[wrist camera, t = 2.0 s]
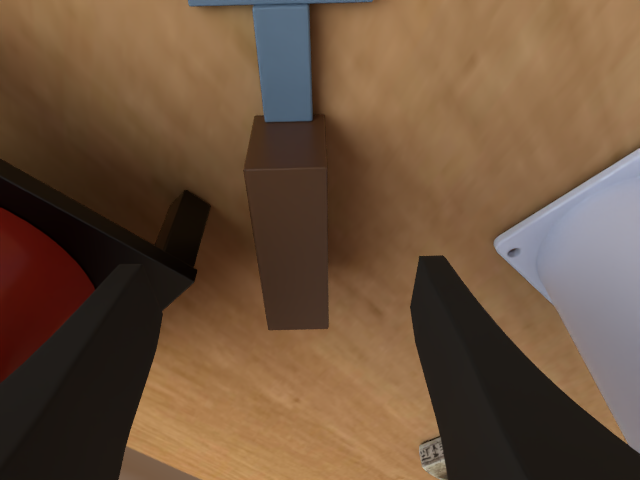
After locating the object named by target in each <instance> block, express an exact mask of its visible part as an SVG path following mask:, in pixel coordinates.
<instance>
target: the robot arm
mask: <svg viewBox="0 0 640 480" xmlns="http://www.w3.org/2000/svg"><path fill="white" fill-rule="evenodd" d="M494 247H495V249H496V251H497V253H498V254H499V255H501V256H502V257H503V258H504V259H505V260H506V261H507V262H508V263H509V264H510V265H511V266H512V267H513V268H514V269H515V270H517V271H518V272H519V273H520V274H521V275H522V276H523V277H524V278H525V279H526V280H527V281H528V282H529V283H530V284H531V285H533V286H534V287H535V288H536V289H537V290H538V291H539V292H540V293H541V294H542V295H543V296H544V297H545V298H546V299H547V300H549V301H550V302H551V303H552V304H553V305H554V306H555V308H556V310H557V312H558V313H559V315H560V317H561V319H562V321H563V323H564V325H565V327H566V328H567V330H568V332H569V334H570V336H571V338H572V340H573V342H574V343H575V345H576V347H577V349H578V351H579V353H580V355H581V357H582V358H583V360H584V362H585V364H586V366H587V368H588V370H589V372H590V373H591V375H592V377H593V379H594V381H595V383H596V385H597V387H598V388H599V390H600V392H601V394H602V396H603V398H604V400H605V402H606V403H607V405H608V407H609V409H610V411H611V413H612V415H613V417H614V418H615V420H616V422H617V424H618V426H619V428H620V430H621V432H622V433H623V435H624V437H625V439H626V441H627V443H628V444H626V443H625V442H623V441H622V440H621V439H619V438H618V437H617V436H616V435H614V434H613V433H612V432H611V431H609V430H608V429H607V428H606V427H605V426H603V425H602V424H601V423H600V422H598V421H597V420H596V419H595V418H593V417H592V416H591V415H590V414H589V413H587V412H586V411H585V410H584V409H582V408H581V407H580V406H579V405H578V404H576V403H575V402H574V401H573V400H572V399H571V398H570V397H568V396H567V395H566V394H565V393H564V392H563V391H562V390H561V389H560V388H558V387H557V386H556V385H555V384H554V383H553V382H552V381H551V380H550V379H549V378H548V377H547V376H546V375H545V374H544V373H542V372H541V371H540V370H539V369H538V368H537V367H536V366H535V365H534V364H533V363H532V362H531V361H530V360H529V359H528V358H527V357H526V356H525V355H524V353H523V352H522V351H521V350H520V349H519V348H518V347H517V346H516V345H515V344H514V343H513V342H512V341H511V340H510V338H509V337H508V336H507V335H506V334H505V333H504V332H503V331H502V329H501V328H500V327H499V326H498V325H497V324H496V322H495V321H494V320H493V319H492V318H491V316H490V315H489V314H488V313H487V312H486V310H485V309H484V308H483V307H482V306H481V304H480V303H479V302H478V301H477V299H476V298H475V297H474V296H473V294H472V293H471V292H470V290H469V289H468V288H467V286H466V285H465V284H464V282H463V281H462V280H461V278H460V277H459V276H458V274H457V273H456V272H455V270H454V269H453V267H452V266H451V265H450V263H449V262H448V260H447V259H446V258H445V257H444V256H443V255H442V256H419V262H418V267H417V273H416V278H415V284H414V289H413V295H412V300H411V306H410V309H411V316H412V323H413V330H414V336H415V343H416V346H417V350H418V354H419V358H420V361H421V365H422V369H423V373H424V376H425V380H426V383H427V387H428V391H429V394H430V398H431V402H432V405H433V409H434V413H435V416H436V420H437V424H438V428H439V433H440V437H441V442H442V448H443V454H444V460H445V465H446V471H447V477H448V480H640V148H639V149H637V150H635V151H634V152H632V153H631V154H629V155H627V156H626V157H624V158H623V159H621V160H619V161H618V162H616V163H615V164H613V165H611V166H610V167H608V168H607V169H605V170H603V171H602V172H600V173H599V174H597V175H595V176H594V177H592V178H591V179H589V180H587V181H586V182H584V183H583V184H581V185H579V186H578V187H576V188H574V189H573V190H571V191H570V192H568V193H566V194H565V195H563V196H562V197H560V198H558V199H557V200H555V201H554V202H552V203H550V204H549V205H547V206H546V207H544V208H542V209H541V210H539V211H538V212H536V213H534V214H533V215H531V216H530V217H528V218H526V219H525V220H523V221H522V222H520V223H518V224H517V225H515V226H514V227H512V228H510V229H509V230H507V231H505V232H504V233H502V234H501V235H499V236H498V237H497V238H496V239H495V240H494ZM514 248H516V249H515V250H512V249H514ZM510 250H512V251H510ZM162 316H163V313H162V311H161V308H160V306H159V303H158V301H157V298H156V296H155V293H154V291H153V288H152V286H151V283H150V281H149V278H148V276H147V273H146V271H145V268H144V266H143V264H119V265H118V266H117V267H116V268H115V269H114V270H113V271H112V273H111V274H110V275H109V276H108V277H107V278H106V279H105V280H104V281H103V282H102V283H101V284H100V285H99V286H98V288H97V289H96V290H95V291H94V292H93V293H92V294H91V295H90V296H89V297H88V298H87V299H86V300H85V302H84V303H83V304H82V305H81V306H80V307H79V308H78V309H77V310H76V311H75V312H74V313H73V314H72V315H71V316H70V317H69V318H68V319H67V321H66V322H65V323H64V324H63V325H62V326H61V327H60V328H59V329H58V330H57V331H56V332H55V333H54V334H53V335H52V336H51V337H50V338H49V339H48V340H47V341H46V342H45V343H44V344H43V345H41V346H40V347H39V348H38V349H37V350H36V351H35V352H34V353H33V354H32V355H31V356H30V357H29V358H28V359H27V360H26V361H25V362H24V363H23V364H22V365H20V366H19V367H18V368H17V369H16V370H15V371H14V372H13V373H11V374H10V375H9V376H8V377H7V378H6V379H5V380H3V381H2V382H1V383H0V480H118V479H119V475H120V470H121V465H122V461H123V456H124V452H125V447H126V444H127V440H128V437H129V433H130V429H131V426H132V423H133V420H134V417H135V414H136V411H137V408H138V405H139V402H140V399H141V396H142V393H143V390H144V387H145V384H146V381H147V378H148V374H149V371H150V368H151V365H152V362H153V359H154V355H155V352H156V349H157V344H158V339H159V333H160V328H161V322H162Z"/></svg>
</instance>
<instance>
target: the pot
mask: <svg viewBox="0 0 640 480" xmlns="http://www.w3.org/2000/svg"><path fill="white" fill-rule="evenodd" d="M210 207H211V206H210V205H209V204H208V203H206V202H205V201H203V200H202V199H200V198H199V197H197V196H196V195H194V194H193V193H191V192H190V191H188V190H184V191H183V192H182V193H181V195H180V196H179V197H178V198H177V199H176V200H175V201H174V202H173V203H172V204H171V205H170V207H169V210H168V212H167V215H166V217H165V220H164V222H163V225H162V227H161V230H160V233H159V235H158V238H157V240H156V243H155V245H153V244H151V243H149V242H147V241H146V240H144V239H142V238H140V237H138V236H137V235H135V234H133V233H131V232H130V231H128V230H126V229H124V228H122V227H121V226H119V225H117V224H115V223H114V222H112V221H110V220H108V219H107V218H105V217H103V216H101V215H99V214H98V213H96V212H94V211H92V210H91V209H89V208H87V207H85V206H84V205H82V204H80V203H78V202H76V201H75V200H73V199H71V198H69V197H68V196H66V195H64V194H62V193H60V192H59V191H57V190H55V189H53V188H52V187H50V186H48V185H46V184H45V183H43V182H41V181H39V180H37V179H36V178H34V177H32V176H30V175H29V174H27V173H25V172H23V171H21V170H20V169H18V168H16V167H14V166H13V165H11V164H9V163H7V162H6V161H4V160H2V159H0V383H1V382H2V381H3V380H5V379H6V378H7V377H8V376H9V375H10V374H11V373H13V372H14V371H15V370H16V369H17V368H18V367H19V366H20V365H22V364H23V363H24V362H25V361H26V360H27V359H28V358H29V357H30V356H31V355H32V354H33V353H34V352H35V351H36V350H37V349H38V348H39V347H40V346H41V345H43V344H44V343H45V342H46V341H47V340H48V339H49V338H50V337H51V336H52V335H53V334H54V333H55V332H56V331H57V330H58V329H59V328H60V327H61V326H62V325H63V324H64V323H65V322H66V321H67V319H68V318H69V317H70V316H71V315H72V314H73V313H74V312H75V311H76V310H77V309H78V308H79V307H80V306H81V305H82V304H83V303H84V302H85V300H86V299H87V298H88V297H89V296H90V295H91V294H92V293H93V292H94V291H95V290H96V289H97V288H98V286H99V285H100V284H101V283H102V282H103V281H104V280H105V279H106V278H107V277H108V276H109V275H110V274H111V273H112V271H113V270H114V269H115V268H116V267H117V266H118V265H119V264H143V266H144V268H145V271H146V273H147V276H148V278H149V281H150V283H151V286H152V288H153V291H154V293H155V296H156V298H157V301H158V303H159V306H160V308H161V311H163V310H164V309H165V308H166V307H167V306H168V305H169V304H171V303H172V302H173V301H174V300H175V299H176V298H177V297H178V296H180V295H181V294H182V293H183V292H184V291H185V290H186V289H187V288H188V287H190V286H191V285H192V284H193V283H194V281H195V278H196V274H197V269H195V268H194V264H195V261H196V257H197V254H198V250H199V246H200V243H201V239H202V235H203V232H204V228H205V225H206V221H207V217H208V214H209V210H210Z"/></svg>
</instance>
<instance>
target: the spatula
mask: <svg viewBox="0 0 640 480" xmlns="http://www.w3.org/2000/svg"><path fill="white" fill-rule="evenodd" d="M372 1H373V0H188V3H189V6H231V5H254V6H253V9H252V10H253V19H254V29H255V38H256V47H257V56H258V65H259V74H260V84H261V93H262V102H263V111H264V116H255V117H254V121H253V126H252V131H251V136H250V141H249V146H248V151H247V155H246V160H245V165H244V170H243V171H244V177H245V183H246V190H247V196H248V203H249V209H250V216H251V222H252V228H253V235H254V241H255V248H256V254H257V261H258V267H259V273H260V280H261V286H262V293H263V299H264V305H265V312H266V318H267V325H268V330H299V329H328V327H329V316H328V188H327V153H326V134H325V116H324V115H323V114H320V115H313V107H312V74H311V42H310V9H309V4H314V3H355V2H372Z"/></svg>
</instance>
